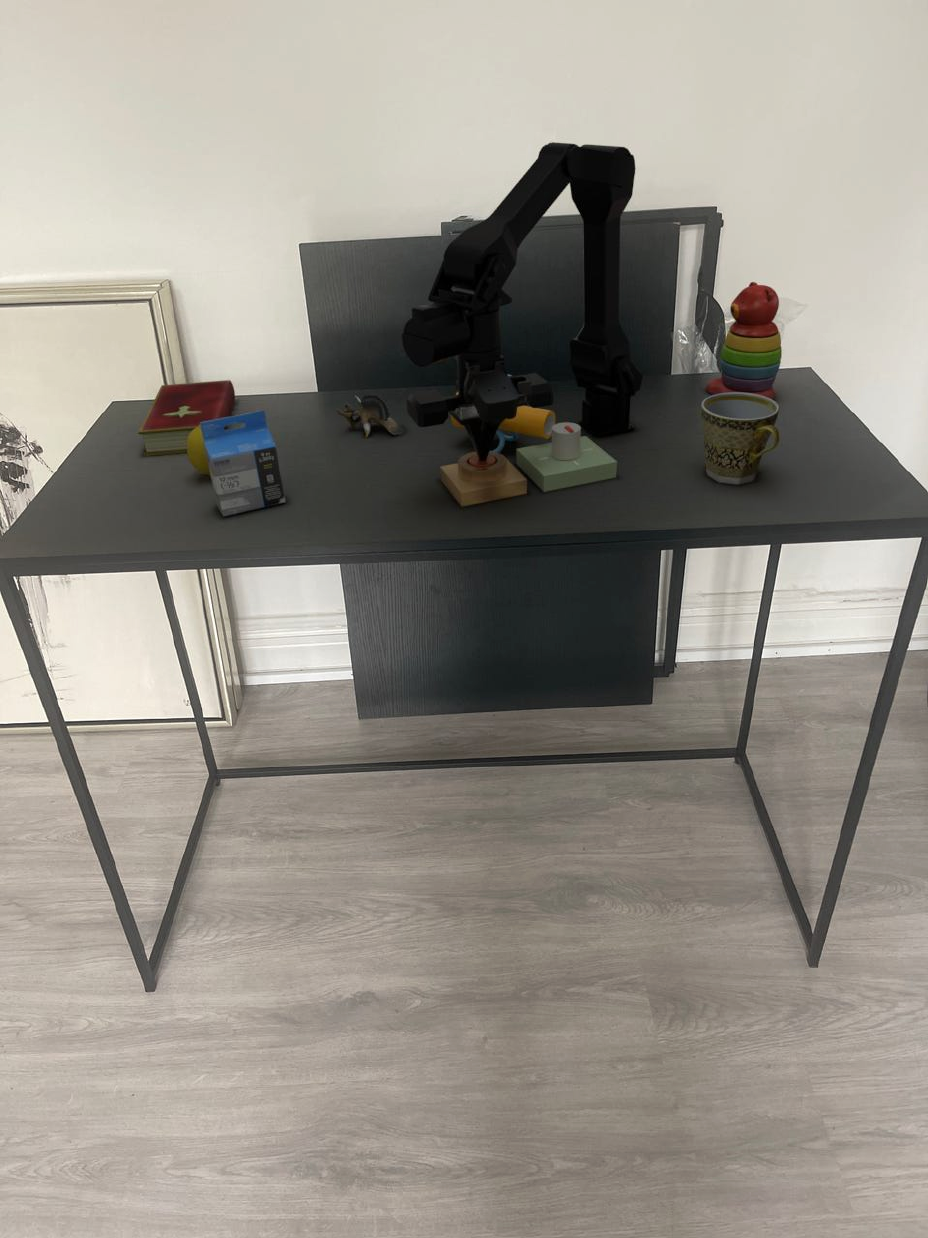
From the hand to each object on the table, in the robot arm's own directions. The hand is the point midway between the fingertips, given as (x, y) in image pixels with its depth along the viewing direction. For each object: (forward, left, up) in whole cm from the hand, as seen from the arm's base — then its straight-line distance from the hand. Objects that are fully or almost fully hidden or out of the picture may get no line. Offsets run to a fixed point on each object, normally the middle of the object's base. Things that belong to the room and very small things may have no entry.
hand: (482, 459), depth 124 cm
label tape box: (+31, -8, -4) cm, 32 cm away
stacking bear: (-51, -14, -4) cm, 53 cm away
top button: (0, 0, -2) cm, 2 cm away
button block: (0, 0, -4) cm, 4 cm away
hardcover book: (+36, -41, -4) cm, 55 cm away
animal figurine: (+9, -26, -4) cm, 28 cm away
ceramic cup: (-33, +12, -4) cm, 35 cm away
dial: (-12, 0, -2) cm, 13 cm away
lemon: (+35, -20, -4) cm, 41 cm away
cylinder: (-2, -17, +1) cm, 17 cm away
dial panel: (-13, 0, -4) cm, 13 cm away
